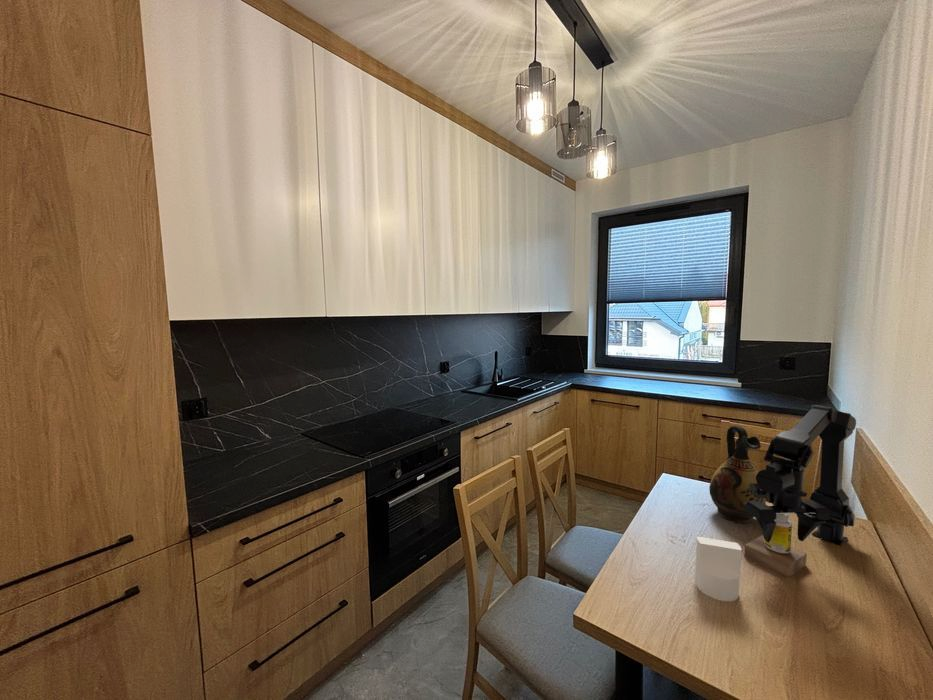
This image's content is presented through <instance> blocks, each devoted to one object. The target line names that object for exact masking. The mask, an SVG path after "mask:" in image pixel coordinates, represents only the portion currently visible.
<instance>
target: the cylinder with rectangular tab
mask: <svg viewBox="0 0 933 700" xmlns="http://www.w3.org/2000/svg"><path fill="white" fill-rule="evenodd" d="M695 547H696V548H695V563H694V565H695V569H694V584H695V586H696V587H697V589H699V591H700V592H702V593H703V594H705V595H706V596H708V597H710V598H712V599H715V600H717V601H722V602H733V601H736V600H738V598H739V595H740V594H739V593H740V579H741V564H742V563H741V562H742V561H741V560H742V547H741V545H740V544H739V543H738V542H733V541H727V540H722V539H715V538H709V537H708V538H707V537H703V536H702V537H701V536H696V546H695Z"/></svg>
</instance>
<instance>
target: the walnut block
mask: <svg viewBox="0 0 933 700" xmlns="http://www.w3.org/2000/svg"><path fill="white" fill-rule="evenodd" d="M743 553H744V557H745V558H747V559H749V560H751V561H753V562H755V563H757V564H759V565H762V566H764V567H766V568H767V569H769V570H772V571H774V572H776V573H778V574H780V575H782V576H784V577H786V578H790V577H792V576H793V575H795V574H796V573H797V572H798V571H800V570H801V569H803V568H804V567H806V565H807V557H808V555H807V553H806V552H804V551H802V550H800V549H797V548H795V547H793V546H791V551H790V552H789V553H786V554H784V553H778V552H775V551H772V550H770V549H769V548H767V547H766V546H765V544H764V537H763V534H761V535H760V536H758V537H756V538H754V539H753V540H751V541H749V542H747V543H745V544H744V552H743Z"/></svg>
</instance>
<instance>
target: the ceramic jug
mask: <svg viewBox="0 0 933 700" xmlns="http://www.w3.org/2000/svg"><path fill="white" fill-rule="evenodd" d="M736 433H737V436H738V438H737V439H736V438H735V436H736ZM748 435H749V434H748V433H747V431H746V429H745V428H744V427H743V426H740V425H738V424H737V425H731V426H730V427H729V428H728V429H727V432H726V444H727V445H726V446H727V448H726V449H727V458H726V459H725V461H724V462H723V463H722V464H721V465H720V466H719V467H718V468H717V469H716V470H715V472H714V473H713V476H712V477H711V480H710V483H709V488H708V489H709V495H710V497H711V501H712V503H713V504H714V505H715V507H716V508H717V514H719V515H720V516H721V517H722V518H724V519H725V520H727V521H731V522H734V523H737V524H747V523H750V522H751V521H752V519H753V518H754V517H753V516H752V515H750V514H749V513H747V512H746V511H744V504H745V502H747V501H761V502H762V503H764V504H766V505H767V501H766V499H765V498H756V495H751V494H750V491H749V486H750V483H757V481H756V475H757V474H758V472H759V471H758V470H757V468H756V466H754V464H753V462H752V461H751V458H750V457H749V455H748V454H749V452H748V451H749V450H760V449H761V447H762V445H761V441H760V440H759V439H758V437H757V436H750V437H748Z"/></svg>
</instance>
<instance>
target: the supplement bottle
mask: <svg viewBox="0 0 933 700" xmlns="http://www.w3.org/2000/svg"><path fill="white" fill-rule="evenodd" d="M774 521H775V522H776V526H775V529H774V532H773V535H772V538H771V540H770V542H767V541H765V539H764V544H765V546H766V547H767V548H769V549H770V550H772V551H775V552H778V553H784V554H786V553H789V552H790V551H791V547H792V534H793V533H792V528H793V526H792V525H793V524H792V521H790V519H789V514H776V519H775V520H774Z"/></svg>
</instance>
